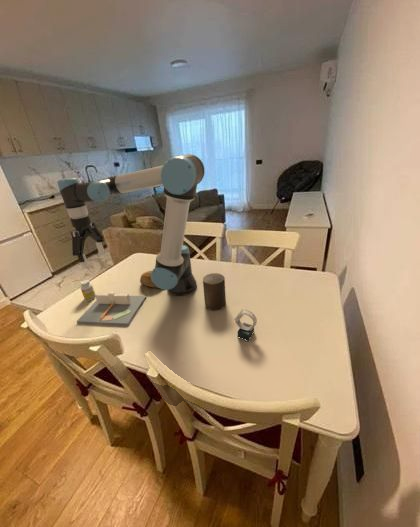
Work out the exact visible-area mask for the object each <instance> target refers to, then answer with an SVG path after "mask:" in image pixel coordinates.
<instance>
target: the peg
mask: <svg viewBox="0 0 420 527" xmlns="http://www.w3.org/2000/svg"><path fill="white" fill-rule="evenodd" d="M129 296H130V295H129V293H116V292H115V291H114V290H112V291H108V293H107V292H101V293H100V292H97V293H95V299H96V300H97V302H98V304H111V305H110V307H109V308H108V309H107V310H106V311H105V313H104V314H103V315H102V316H101V317H100V318H103V317H104V316H105V315H106V313H107V312H108V311H109V310H110V309H111V307H112V306H113V305H115V304H130V303H131V301H130V297H129Z"/></svg>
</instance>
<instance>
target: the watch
mask: <svg viewBox="0 0 420 527" xmlns="http://www.w3.org/2000/svg"><path fill="white" fill-rule="evenodd" d="M244 315H245V316H247V317H249V318H250V319H251V320H252V321H253V323H252V324H250V323H246V322H241V319H242V317H244ZM234 321H235V323H236V325H237V327H238V328H239V329H238V330H237V338H238V337H240V338H243V339H246V340H249V338H250V337H251V338H252V336H253V335H252V333H253V332H254V333H255V326H256V325H257V323H258V321H257V317H256V315H255V314H254V313H253V312H252V311H250V310H248V309H241V310H240V312H239V313H237V315H236V317H235V318H234ZM254 333H253V334H254ZM251 335H252V336H251ZM240 338H239V339H240ZM251 338H250V339H251ZM243 339H242V340H243ZM249 341H250V340H249Z"/></svg>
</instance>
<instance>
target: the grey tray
mask: <svg viewBox="0 0 420 527" xmlns="http://www.w3.org/2000/svg"><path fill="white" fill-rule="evenodd" d="M129 297H130V301H131V303H130V304H115V305H113V306H112V307H111V309H110V310H109V311H108V312H107V313H106V315H105V316H104V317H103V318H100V317H101V316H102V315H103V314H104V313H105V311H106V310H107V309H108V308H109V307H110V305H111V304H98V302H97V299H96V300H95V301H94V302H93V304H91V305H90V307H89V308H87V310H86V311H85V312H83V314H82V315H81V316H80V317H79V318H78V319H77V320H76V323H77V324H84V325H105V326H106V325H107V326H126V327H128V326H130V324H131V322H132V321H133V319H134V317H135V316H136V315H137V313H138V312H139V310H140V309H141V307H142V306H143V304H144V302H145V301H146V299H147V295H129Z"/></svg>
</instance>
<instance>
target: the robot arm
mask: <svg viewBox="0 0 420 527" xmlns="http://www.w3.org/2000/svg"><path fill="white" fill-rule="evenodd" d="M205 172H206V171H205V166H204V163H203V161H202V159H200V158H199V157H198V156H196V155H194V154H189V153H188V154H187V153H186V154H183V155H179V154H178V155H175V156H172V157H170V158H169V159H168V160H166V161H165V162H164V163H163V165H159V166H154V167H150V168H146V169H141V170H137V171H132V172H129V173H128V172H127V173H123V174H119V175H113V176H108V177H106V178H102V179H97V180H94V181H93V180H92V181H88V182H79V181H78V179H77V178H76V177H69V178H62V179H61V178H60V179H58V180H57V182H56V183H57V184H56V185H57V187H58V190H59V193H60V195H61V198H62V201H63V203H64V206H65V208H66V211H67V214H68V217H69V218H70V223H71V225H72V228H75V231H71V232H70V236H71V240H72V241H71V242H72V243H71V245H72V256H73V257H75V256H76V257H77V258H78V260H79V262H80V264H81V267H82V269H89V268H90V264H89V262H88V260H87V257H86V254H85V253H84V248H85V241H86V240H87V239H88V237H89V238H91V239H93V240H94V241H95V245H96V248H97V251H98V255H99V256H105V255H106V252H105V248H104V245H103V242H104V238H105V237H104V235H103V234H102V233H101V231H100V230H99V229H98V227H97V226H96V223H95V222H92V220H91V217H90V215H89V210H88V208H87V205H86V203H95V202H97V203H101V202H105V201H107V200H108V199H109V197H112V196H115V195H121V194H125V193H131V192H135V191H140V190H141V191H142V190H146V189H152V188H157V187H162V186H163V193H162V194H163V195H164V196H165V197H166V202H165V203H166V204H165V212H164V219H163V220H164V221H163V230H162V236H161V244H160V252H159V253H158V254H157V255H156V257H155V265H154V267H153V269H152V270H151V271H152V272H151V280H152V282H153V283H154V284H155V285H156V286H157V287H158V289H161V290H163V291H164V290H165V291H168V293H169V294H170V295H173V296H180V297H181V296H187V295H190V294H192V293H194V291H196V289H197V288H198V284H197V280H196V278H195V276H194V274H193V273H192V272H193V270H192V264H191V255H190V248H189V247H188V246H187V245H185V244H184V239H185V233H186V228H187V221H188V216H189V211H190V204H191V202H192V201H194V200H195V198H196V194H197V187H198V185H199V184H200V183H201V182H202V181H203V180H204V177H205Z"/></svg>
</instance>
